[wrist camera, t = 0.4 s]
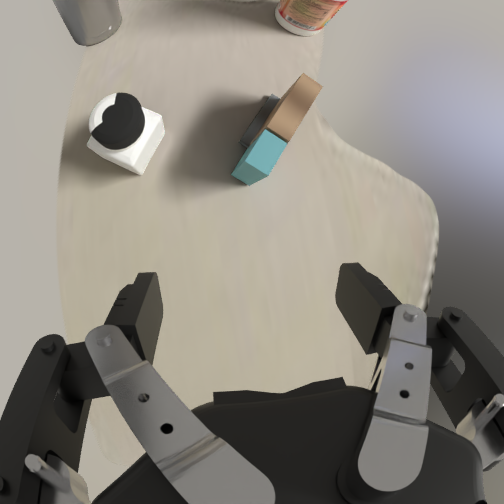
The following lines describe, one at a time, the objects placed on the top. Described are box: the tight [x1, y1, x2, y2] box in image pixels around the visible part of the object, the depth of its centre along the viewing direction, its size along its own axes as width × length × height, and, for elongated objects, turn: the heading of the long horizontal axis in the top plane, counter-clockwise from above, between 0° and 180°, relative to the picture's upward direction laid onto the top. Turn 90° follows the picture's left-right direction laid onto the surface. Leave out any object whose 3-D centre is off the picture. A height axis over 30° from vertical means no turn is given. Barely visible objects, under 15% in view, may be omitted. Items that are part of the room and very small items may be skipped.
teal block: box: [231, 129, 287, 186], centre depth 34 cm, size 4×3×10 cm, turn 149°
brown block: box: [239, 73, 322, 148], centre depth 34 cm, size 10×6×10 cm, turn 149°
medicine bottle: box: [87, 93, 165, 175], centre depth 29 cm, size 7×7×12 cm
